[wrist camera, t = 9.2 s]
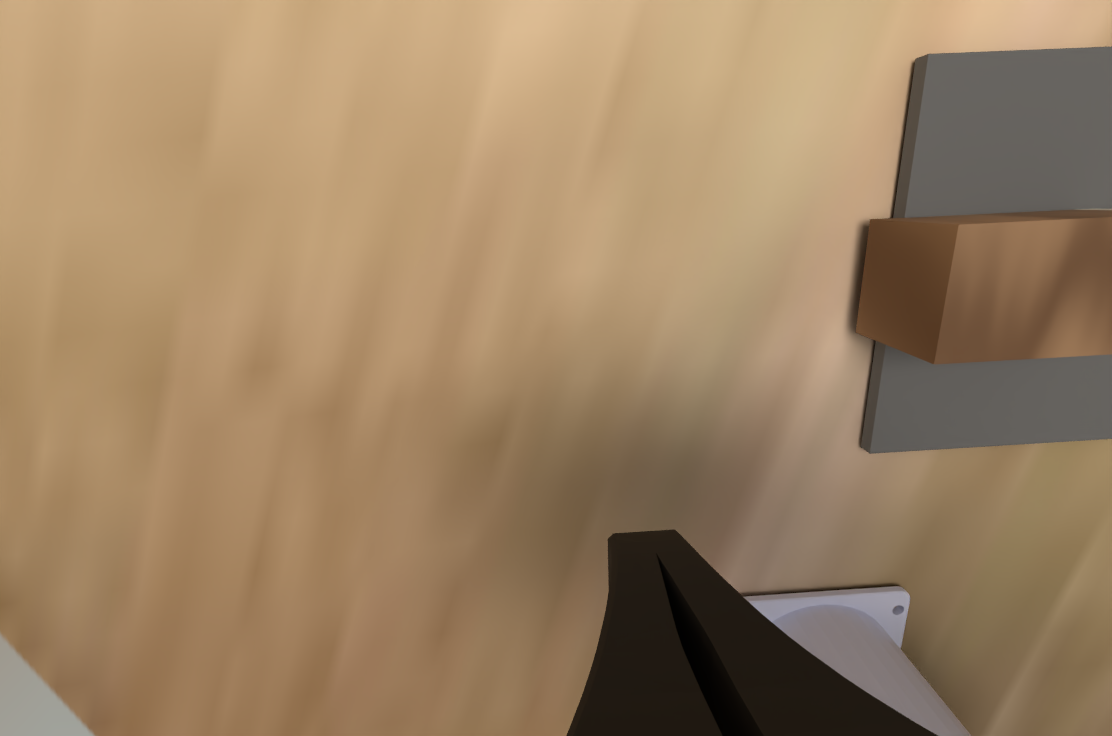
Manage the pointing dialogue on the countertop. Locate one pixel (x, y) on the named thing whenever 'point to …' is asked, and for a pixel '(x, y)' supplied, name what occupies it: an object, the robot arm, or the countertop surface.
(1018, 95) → the rubber mat
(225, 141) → the countertop surface
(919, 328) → the walnut block
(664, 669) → the robot arm
